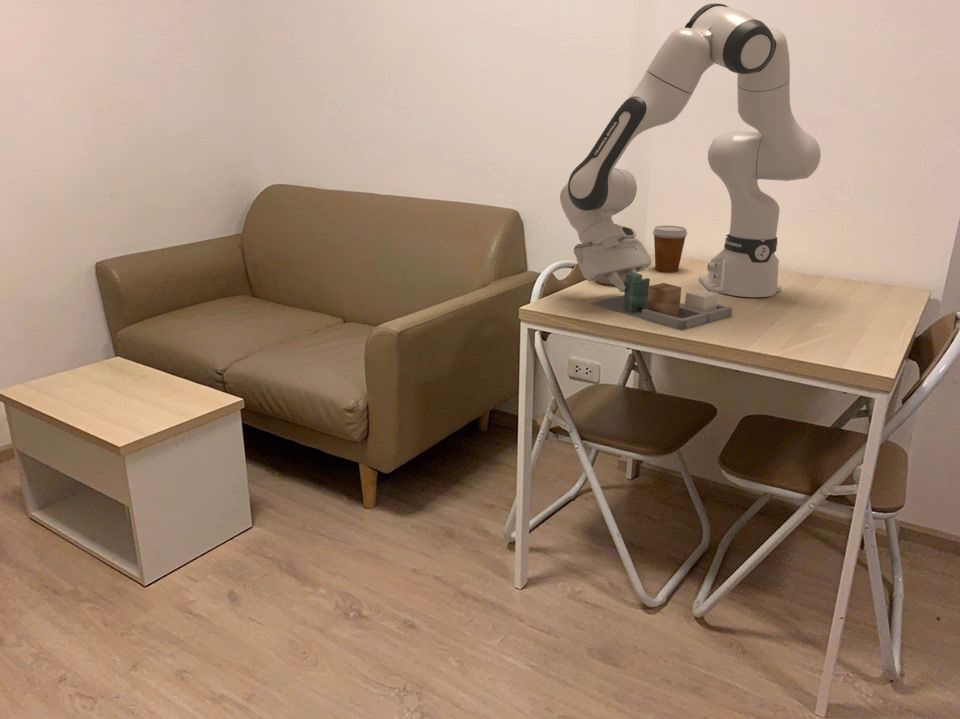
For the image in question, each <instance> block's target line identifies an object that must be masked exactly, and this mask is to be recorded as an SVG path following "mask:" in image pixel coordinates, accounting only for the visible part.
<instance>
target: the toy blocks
mask: <svg viewBox="0 0 960 719" xmlns="http://www.w3.org/2000/svg"><path fill="white" fill-rule="evenodd" d="M650 281H651V279H650V278H649V277H647V278H646V277H645V278H643V274H640V273H637V274H636V273H630V274H626V279H625V282H626V283H627V285H628V286H629V289H628V290H627V291H625V292H624V295H623V296H624V307H623V308H625V309H628V310H629V312H634V311H640V312H642V310H643V309H648V310H652V311H655V312H659V313H662V314H666V315H670V316H673V317H677V318H678V317H679V307H680V303H681V296H682V287H681V286H678V285H673V284H669V283H666V282H661V283H656V284H652V285H650Z"/></svg>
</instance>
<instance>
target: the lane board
mask: <svg viewBox="0 0 960 719" xmlns="http://www.w3.org/2000/svg"><path fill="white" fill-rule="evenodd" d="M588 304H590V305H593V306H595V307H596V306H597V307H600V308H603V309H606V310H610V311H614V312H616V313H617V312H618V313H619V314H620V313H621V314H624V315H627V316H631V317H634V318H638V319H641V320H644V321H648V322H651V323H654V324H659V325H661V326H665V327H669V328H672V329H676V330H678V331H684V330H688V329H692V328H695V327H699V326H703V325H707V324H709V323H714V322H717V321H720V320H725V319H728V318H732V313H733V307H731V306H728V305H723V304H719V303H717V310H713V311H709V312H701V311H698V310H694V309H690V308H686V307H685V303H681V302H680V307H679V317H678V318H677V317H673V316H670V315H666V314H662V313H659V312H655V311H652V310H648V309H643V310H642V312H640V311H634V312H629V310H628V309H625V308H623V307H624V295H620V296H616V297H612V298H610V297H609V298H607V299H602V300H598V301H593V302H589V303H588Z"/></svg>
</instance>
